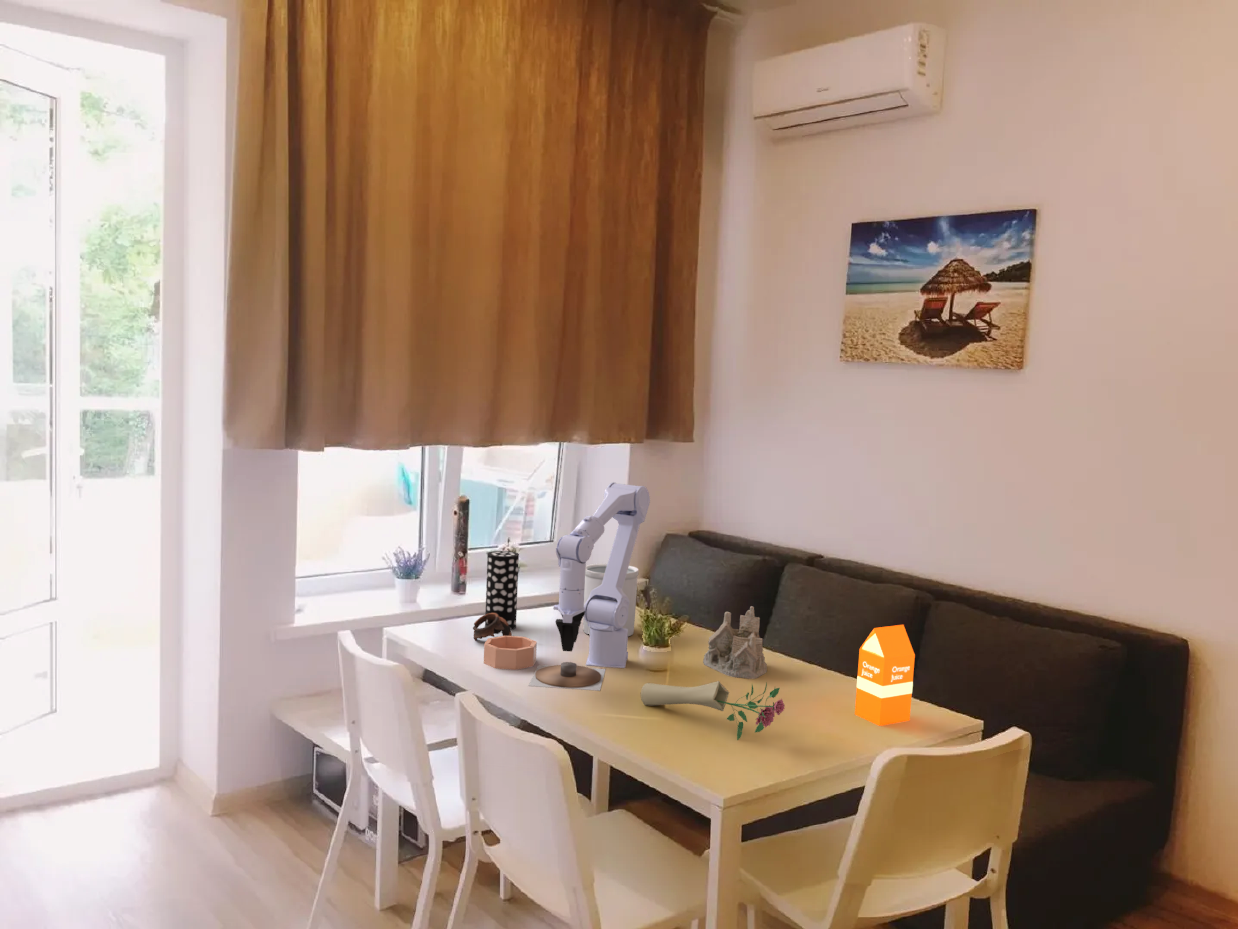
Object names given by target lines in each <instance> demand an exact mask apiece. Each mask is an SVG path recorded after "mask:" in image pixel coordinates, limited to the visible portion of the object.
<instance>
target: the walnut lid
mask: <svg viewBox="0 0 1238 929" xmlns="http://www.w3.org/2000/svg"><path fill="white" fill-rule="evenodd" d="M591 668H592V667H589V666H583V665H577V663H575V662H571V661H565V662H561V663H560V664H556V665H551V666H548V667H544V668H541V669H539V670H538V671H537V672H536V674H535V677H536V679H537V680H538V681H540V682H542V683H544V684H547V685H551V686H556V687H567V688H575V687H586V686H590V685H594V684H596V683H598V682H599V681H600V680H601V674H600V673H599V672H598V671H596V670H594V669H591Z"/></svg>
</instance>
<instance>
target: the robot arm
mask: <svg viewBox="0 0 1238 929" xmlns="http://www.w3.org/2000/svg"><path fill="white" fill-rule="evenodd" d="M650 497H651V496H650V492H649V490H648V488H647V487H646V486H645V485H634V484H625V483H617V482H614V481H613V482H610V483H609V484H608V485H607V487H606V488H605V489H604V494H603V500H602V501H601V503H600V504H599V506H598V507H597V509H596V510H595V511H594V512H593V513H592V514H591V515H585V516H584V517H583V519H581V521H580V522H579V523H578V524H577V525H576V526H575V528H574V529H573V530H572V531H571V532H570V533H569V534H565V535H563V536H561V537H560V538H559V539H558V541H557V544H556V547H555V553H556V557H557V565H558V567H559V569H560V570H559V571H560V572H559V592H558V593H559V594H558V604H554V605H553V606H552V608H553V610H554V611H555V610H556V611H558V612H559V613H560V615H561V618H562V619H561V618H557V619H555V626H556V627H557V629H558V632H559V637H560V642H561V650H562V651H563V652H573V649H574V646H575V643H576V641H577V638H578V634H579V630H580V626H581V624H582V621H583V616H584V619H585V621H586V622H588V626H589V627H590V635H589V646H588V655H587V659H586V662H585V667H602V668H603V667H604V668H617V669H620V668H621V669H626V667H627V666H626V665H627V660H628V659H629V651H628V640H629V638H628V637H629V636H628V629H625V628H623V626H624V625H625V624H626V622H627V619H628V608H629V602H630V601H629V599H628V597H627V596H626V595H625V593H624V592H623V591H622V588H623V585H624V581H625V578H626V574H627V570H628V567H629V566H630V563H631V559H632V557H633V556H632V555H633V553H634V548H635V544H636V542H637V537H638V534H639V530H640V527H641V524H643V523H644V522H645V521H646V517H647V515H648V511H649V506H650V503H651V498H650ZM612 518H613V519H615V520H616V521H617V529H616V532H615V536H614V540H613V544H612V547H611V550H610V554H609V558H608V560H607V563H606V564H607V567H606V571H605V574H604V578H603V581H602V584H601V585H600V586H598V587H597V588H595V589H593V590H592V591H591V592H590V595H589V598H588V600H587V601H586V603H585V605H584V590H585V569H586V565H587V561H589V560H590V558H591V556H592V553H593V550H594V547H595V544H596V543H597V542H598V540H599V539H600V538H601V537H602V535H604V533H605V525H606V524H607V523H608V522H609V521H610V520H611V519H612ZM609 600H610V601H609ZM614 601H616V602H614Z"/></svg>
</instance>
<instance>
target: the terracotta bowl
mask: <svg viewBox="0 0 1238 929" xmlns="http://www.w3.org/2000/svg"><path fill="white" fill-rule="evenodd" d="M537 644H538V641H537V640H534V639H531V638H528V637H526V636H520V635H519V636H518V635H517V636H516V635H512V636H503V635H499V636H494V637H489V638H487V640H486V641H485V642H484V644H483V664H485V665H487V666H489V667H491V668H494V669H497V670H511V671H512V670H514V671H516V670H517V671H518V670H521V669H526V668H532V667H534V665H535V663H536V662H537Z"/></svg>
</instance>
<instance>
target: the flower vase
mask: <svg viewBox="0 0 1238 929" xmlns="http://www.w3.org/2000/svg"><path fill="white" fill-rule="evenodd" d="M767 687H768V683H767V681H766V682H765V687H764V690H763V692H762V694H759V695H757V696H756V697H754V698H752V699H751V696H752V695H753V694H754V685H753V684H751V693H750V692H747V693H746V694H745V695H744V697H745V699H746V700H749V701H748V702H746V703H745V704H742V703H737V701H738V700H740V699H742V698H743V696H742V697H740V698H738V699H737V700H736V701H735V702H733V703H732V702H728V698H729V695H730V691H729V690H728V689H727V688H726V687H725V686H724V685H723V684H722V683H721V681H719V680H717V681H714V682H710V683H705V684H702V685H697V686H680V685H667V684H661V683H660V684H659V683H654V682H651V683H650V682H647V683H644V684H643V686H642V687H641V692H640V699H641V702H642V704H643V705H644V706H650V707H652V706H663V705H664V706H665V705H699V706H704V707H707V708H708V707H709V708H711V709H715V710H717V711H720V712H724V710H725V707H726V705H729V706H731V708H732V710H733V712H734V713H733V712H732V713H731V714H730V715H729V716H727V717H726V720H728V721H729V722H734V721H735V722H736V725H737V730H736V741H739V740H740V739H741V737H742V734H743V729H744V722H743V721H745V722H747V723H748V719H747V716H746V713H745V712H744V711H743V710H739V711H738V710H737V709H735V708H734V707H737V708H741V709H745V710H748V711H752V712H753V713H756V714H757V715H758V717H756V718H755V720H756V722H755V726H756V728H755V731H754V733H760V732H762V731H763V730H764V728H765V729H766V728H767V727H768V726H769V727H770V726H771V724H772V722H774V719H775V714H776V715H777V716H780V714H782V713H783V712H784V711H785V708H786V707H785V703H784V701H783V699H782V698H780V699H777V701H775V702H773V701H772V705H771V704H769V705H766V704H767V701H768V699H769V698H770V699H771V698H773V699H774V698H776V696H778V694H779V691H780V687H774V688H773V690H771V691H770V692H769V695H768V696H767V697H766V699H765V704H764V705H759V704H760V703H761V702H762V700H763V699H764V696H765V695H764V694H765V693H766V691H767ZM759 696H762V697H761V698H760V699H758V700H757V701H756V700H755V699H756V698H758V697H759ZM749 698H750V699H749ZM753 700H755V701H753ZM733 706H734V707H733ZM758 708H760V712H759V711H758ZM755 709H756V710H755ZM735 711H737V714H738V716H739V717H740V718H741V719H742V720H743V721H739V720H735V719H738V717H737V716H736V714H735Z"/></svg>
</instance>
